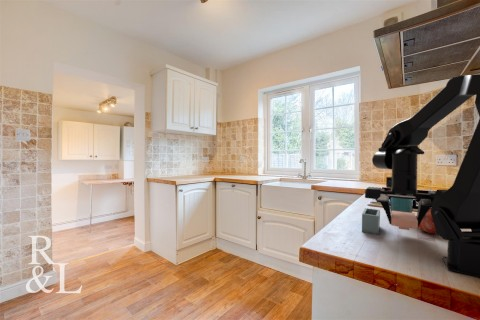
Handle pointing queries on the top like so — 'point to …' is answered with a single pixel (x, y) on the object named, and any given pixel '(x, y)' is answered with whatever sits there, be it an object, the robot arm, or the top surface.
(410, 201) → the beverage bottle
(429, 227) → the pomegranate
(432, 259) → the top surface
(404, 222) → the lid
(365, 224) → the box
